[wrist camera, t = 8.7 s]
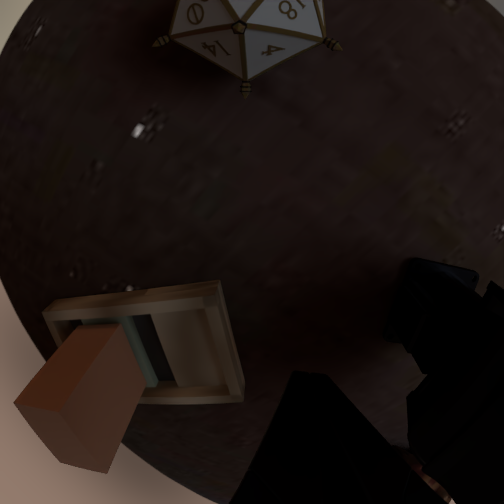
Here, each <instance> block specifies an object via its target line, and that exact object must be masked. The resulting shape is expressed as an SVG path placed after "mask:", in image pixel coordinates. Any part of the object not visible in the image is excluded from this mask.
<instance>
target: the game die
mask: <svg viewBox="0 0 504 504" xmlns="http://www.w3.org/2000/svg"><path fill="white" fill-rule="evenodd" d="M169 41H173V42H175V43H177V44H179V45H181V46H183V47H185V48H187V49H188V50H190V51H192V52H194V53H196V54H198V55H199V56H201V57H203V58H205V59H206V60H208V61H210V62H212V63H213V64H215V65H217V66H219V67H220V68H222V69H224V70H225V71H227V72H229V73H230V74H232V75H234V76H235V77H237V78H238V79H240V80H242V85H241V86H240V87H241V91H240V92H241V93H242V95H243V97H244V98H245V99H246V97H247V96H248V95H249V93H250V92H251V91H250V87H251V86H250V83H249V82H250V81H251V80H253V79H254V78H256V77H258V76H260V75H261V74H263V73H265V72H267V71H269V70H271V69H272V68H274V67H276V66H278V65H280V64H282V63H284V62H286V61H288V60H290V59H292V58H293V57H295V56H297V55H299V54H302V53H304V52H306V51H308V50H310V49H312V48H314V47H316V46H318V45H320V44H323V43H324V44H325V45H327V47H328V48H331V50H332V51H333V50H340V51H343V50H342V49H341V47H340V45H339V43H338V41H335V40H334V39H333V38H332V39H329V38H327V37H326V26H325V14H324V4H323V0H177V1H176V5H175V9H174V13H173V16H172V20H171V25H170V29H169V33H168V35H166V36H161V37H160V38H156V41H155V42H154V44H153V45H152V47H162V46H163V45H167V43H168V42H169Z"/></svg>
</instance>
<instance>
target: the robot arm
mask: <svg viewBox="0 0 504 504" xmlns="http://www.w3.org/2000/svg"><path fill="white" fill-rule="evenodd" d="M417 263H419V264H418V267H416V268H414V267H415V265H416V264H417ZM473 276H474V278H473ZM472 278H473V279H472ZM478 280H479V274H478V273H477V272H476V271H474V270H469V269H465V268H461V267H457V266H452V265H448V264H444V263H439V262H435V261H430V260H426V259H421V258H413V259H412V260H411V261H410V263H409V266H408V269H407V272H406V275H405V277H404V280H403V283H402V286H401V287H399V289H398V292H397V295H396V298H395V300H394V303H393V305H392V308H391V311H390V313H389V316H388V322H387V325H386V327H385V329H384V332H383V338H384V340H385V341H387V342H393V343H402V344H403V346H404V348H405V349H406V351H407V353H411V354H412V356H413V358H414V359H415V361H416V363H417V365H418V366H419V368H420V370H421V372H422V374H428V375H427V376H426V377H425V378H424V380H423V381H422V382H421V383H420V384H419V386H418V387H417V388H416V389H415V390H414V391H411V392H410V394H409V395H408V396H407V397H406V399H407V416H408V434H407V437H408V441H409V446H410V448H411V452H412V453H413V455H414V456H415V458H416V459H417V460H418V462H419V463H420V464H421V465H422V466H423V467H422V468H421V470H422V472H423V473H425V474H426V475H428V476H429V477H431V478H432V479H434V480H435V481H436V482H438V483H439V484H440V485H441V486H442V487H443V488H444V489H445V490H446V491H447V493H448V494H449V495H450V496H451V498H452V499H453V500H454V502H455V503H456V504H504V289H503V288H501V287H500V286H498V285H497V284H496V283H494V282H493V281H490V283H489V284H488V286H487V291H486V293H485V294H484V296H483V298H482V297H481V296H480V295H479V294H478V293H476V292H475V291H474V290H475V288H476V285H477V283H478ZM391 333H392V334H391ZM389 334H391V335H390V336H388V335H389ZM411 469H412V468H411V466H410V465H409V464H408V463H407V462H406V461H405V460H404V459H403V458H402V457H401V456H400V455H399V454H398V452H397V451H396V450H395V449H394V448H393V447H392V446H391V445H390V444H389V443H388V442H387V441H386V439H385V438H384V437H383V436H382V435H381V434H380V433H379V432H378V431H377V430H376V429H375V427H374V426H373V425H372V424H371V423H370V422H369V421H368V420H367V419H366V418H365V416H364V415H363V414H362V413H361V412H360V411H359V410H358V409H357V408H356V407H355V405H354V404H353V403H352V402H351V401H350V400H349V399H348V398H347V397H346V395H345V394H344V393H343V392H342V391H341V390H340V389H339V388H338V386H337V385H336V384H335V383H334V382H333V381H332V380H331V379H330V377H329V376H328V375H326V374H320V373H310V374H309V373H308V372H302V371H293V372H292V373H291V375H290V378H289V380H288V382H287V385H286V387H285V390H284V392H283V394H282V397H281V399H280V401H279V403H278V406H277V408H276V410H275V412H274V415H273V417H272V419H271V421H270V424H269V426H268V428H267V430H266V432H265V435H264V437H263V439H262V441H261V443H260V445H259V447H258V449H257V451H256V454H255V456H254V458H253V460H252V462H251V464H250V466H249V468H248V471H247V472H246V473H245V475H244V477H243V479H242V481H241V483H240V485H239V487H238V489H237V490H236V492H235V494H234V496H233V497H232V499H231V501H230V502H229V504H449V503H447V502H446V501H445V500H444V499H443V498H442V497H440V496H439V495H438V494H437V493H436V492H435V491H434V490H433V489H432V488H431V487H430V486H429V485H428V484H427V483H426V482H425V481H424V480H423V479H422V478H421V477H420V476H419V475H418V474H417V473H416V472H415V471H414V470H411Z"/></svg>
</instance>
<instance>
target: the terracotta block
mask: <svg viewBox="0 0 504 504" xmlns="http://www.w3.org/2000/svg"><path fill="white" fill-rule="evenodd" d="M146 384H147V382H146V380H145V378H144V376H143V373H142V371H141V369H140V367H139V365H138V362H137V360H136V358H135V356H134V353H133V351H132V349H131V346H130V344H129V341H128V339H127V337H126V334H125V332H124V329H123V327H122V324H121V323H115V324H99V325H80V326H78V327H77V328H76V329H75V330H74V331H73V332H72V333H71V334H70V336H69V337H68V338H67V339H66V340H65V341H64V342H63V344H62V345H61V346H60V347H59V348H58V349H57V350H56V352H55V353H54V354H53V355H52V356H51V357H50V359H49V360H48V361H47V362H46V363H45V364H44V366H43V367H42V368H41V369H40V371H39V372H38V373H37V374H36V375H35V376H34V378H33V379H32V380H31V381H30V383H29V384H28V385H27V386H26V387H25V389H24V390H23V391H22V392H21V394H20V395H19V396H18V398H17V399H16V400H15V401H14V404H15V406H16V407H17V408H18V410H19V411H20V413H21V414H22V415H23V417H24V418H25V420H26V421H27V422H28V424H29V425H30V426H31V428H32V429H33V430H34V432H35V433H36V434H37V435H38V437H39V438H40V439H41V440H42V442H43V443H44V444H45V445H46V446H47V448H48V449H49V450H50V451H51V452H52V454H53V455H54V456H55V457H56V458H57V459H58V460H59V461H60V462H61V463H64V464H68V465H72V466H75V467H79V468H84V469H88V470H92V471H96V472H101V473H106V474H107V473H108V470H109V468H110V466H111V463H112V461H113V458H114V456H115V454H116V452H117V449H118V447H119V445H120V442H121V440H122V438H123V436H124V433H125V431H126V429H127V426H128V424H129V422H130V420H131V417H132V415H133V413H134V411H135V408H136V406H137V404H138V402H139V400H140V397H141V395H142V393H143V391H144V389H145V386H146Z"/></svg>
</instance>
